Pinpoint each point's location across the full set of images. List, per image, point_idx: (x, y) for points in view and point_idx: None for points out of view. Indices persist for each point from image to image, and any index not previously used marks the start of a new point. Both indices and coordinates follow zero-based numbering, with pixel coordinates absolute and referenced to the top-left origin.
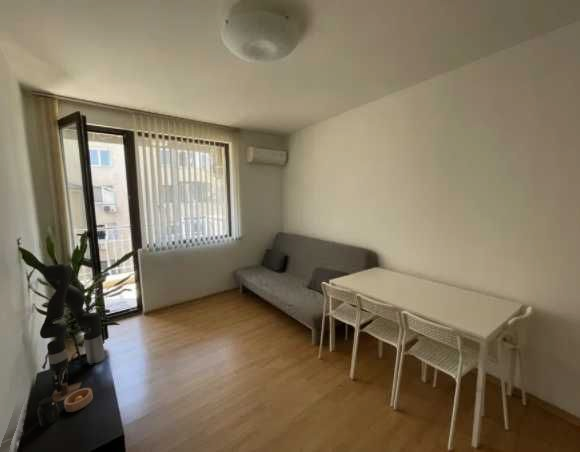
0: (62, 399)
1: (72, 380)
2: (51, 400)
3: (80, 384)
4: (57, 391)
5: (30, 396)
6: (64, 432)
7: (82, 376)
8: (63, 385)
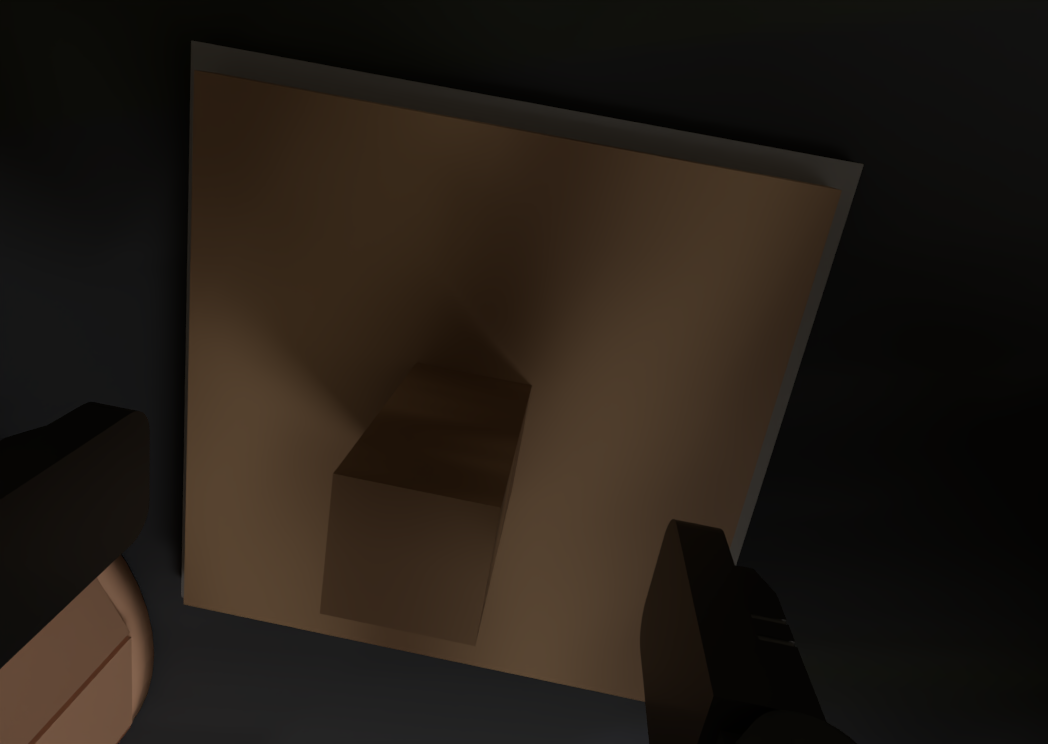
0: (205, 388)
1: (1040, 516)
2: None
3: (574, 684)
4: (85, 412)
5: None
6: None
7: (1008, 688)
8: (352, 556)
